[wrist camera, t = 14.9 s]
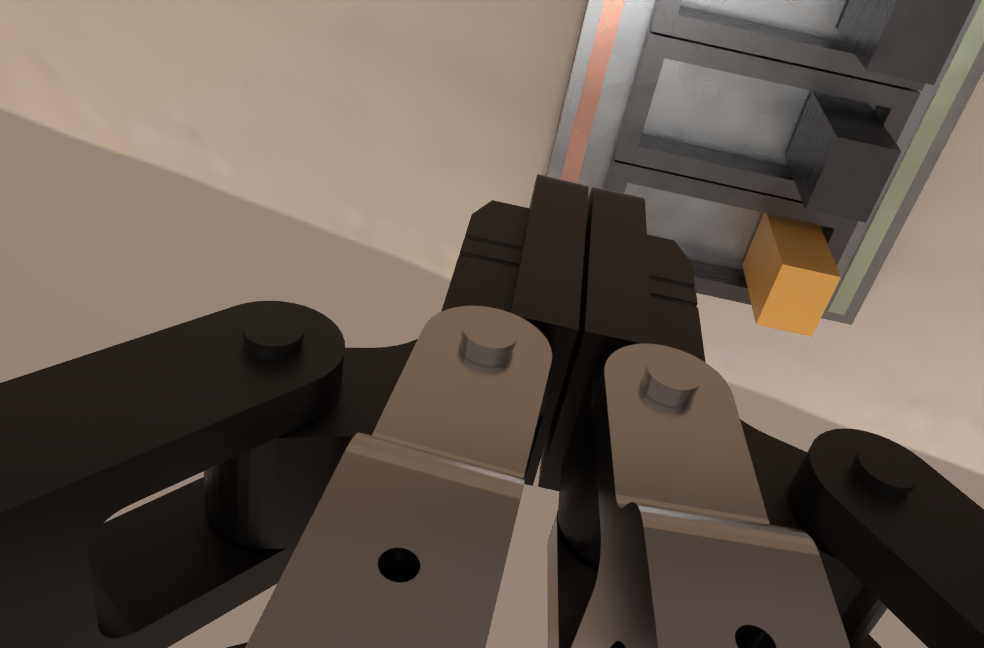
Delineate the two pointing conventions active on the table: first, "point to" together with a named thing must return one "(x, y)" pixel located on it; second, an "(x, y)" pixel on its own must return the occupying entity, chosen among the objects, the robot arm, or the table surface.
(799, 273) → the block
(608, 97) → the panel
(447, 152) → the table surface
